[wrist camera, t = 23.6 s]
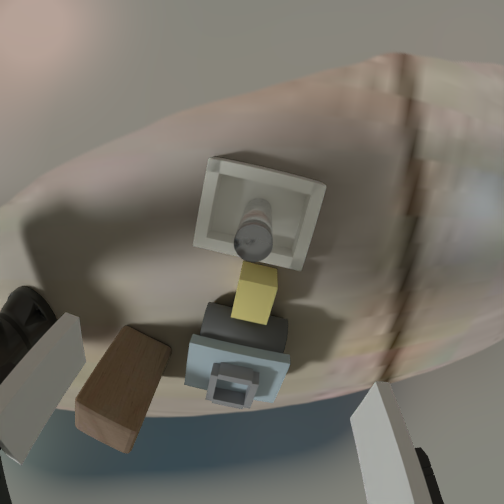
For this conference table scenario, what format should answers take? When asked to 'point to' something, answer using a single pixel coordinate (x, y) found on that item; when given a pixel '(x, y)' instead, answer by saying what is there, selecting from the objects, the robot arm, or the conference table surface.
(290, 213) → the tray
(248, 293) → the yellow cube
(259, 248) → the pin
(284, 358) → the grey plate on cylinders
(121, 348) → the block
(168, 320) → the conference table surface
